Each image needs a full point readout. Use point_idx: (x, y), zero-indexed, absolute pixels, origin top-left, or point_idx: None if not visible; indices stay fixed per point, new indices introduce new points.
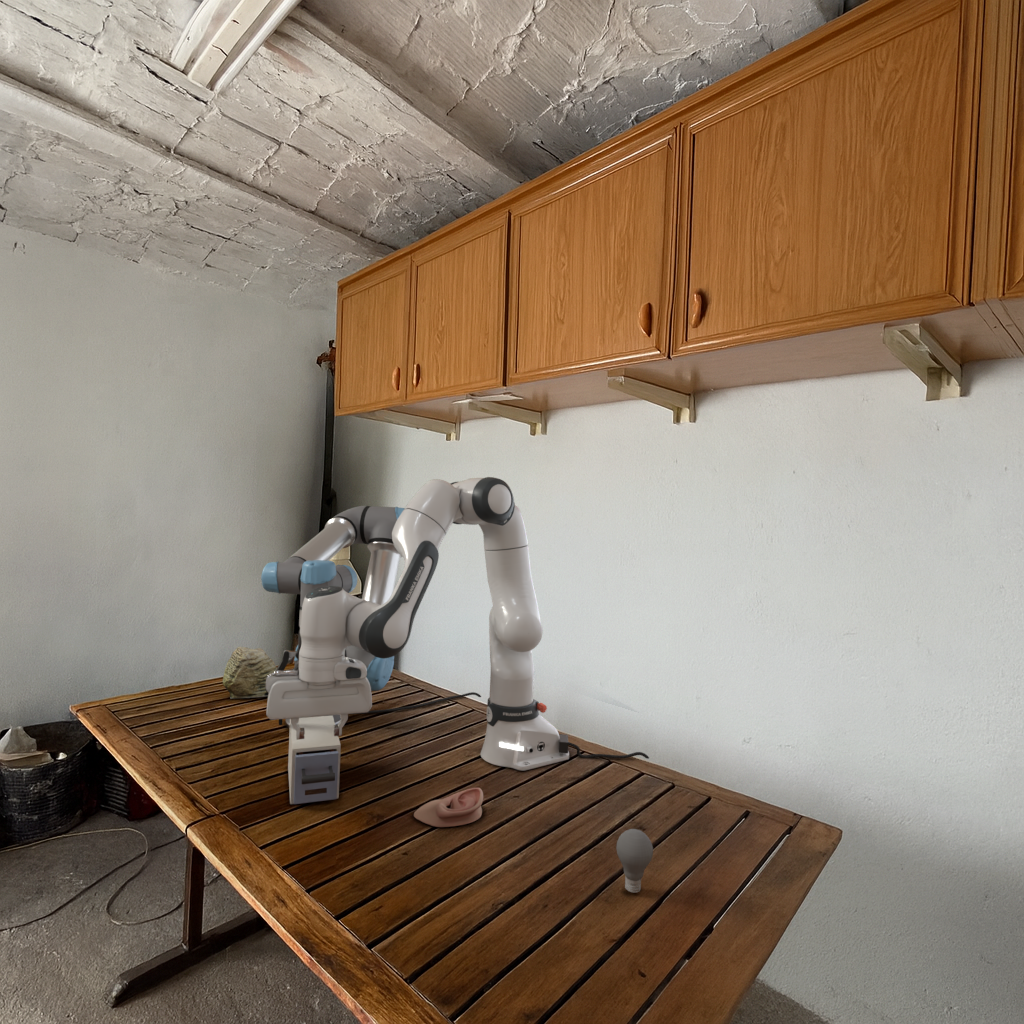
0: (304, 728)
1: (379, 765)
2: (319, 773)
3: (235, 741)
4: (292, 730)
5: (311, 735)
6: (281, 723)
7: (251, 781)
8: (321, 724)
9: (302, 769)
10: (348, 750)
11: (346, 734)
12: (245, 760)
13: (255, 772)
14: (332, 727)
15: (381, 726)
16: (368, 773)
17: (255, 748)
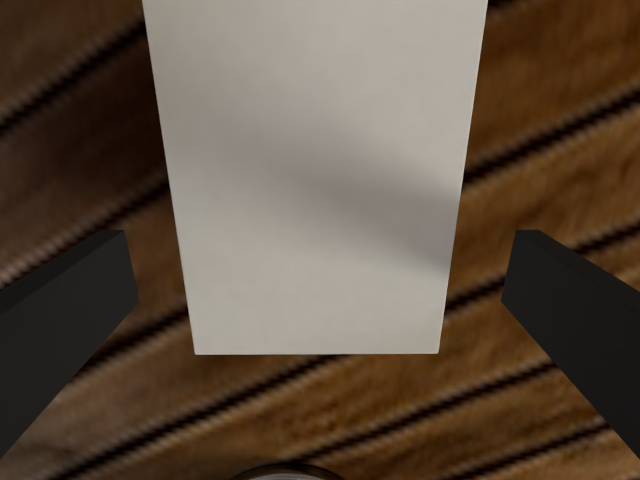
0: (375, 172)
1: (74, 186)
2: None
3: (509, 449)
4: (456, 152)
5: (339, 5)
6: (528, 232)
7: (513, 167)
8: (261, 221)
9: None
10: (189, 327)
11: (197, 435)
12: (504, 326)
13: (490, 234)
14: (186, 144)
15: (92, 466)
16: (111, 125)
17: (464, 397)
